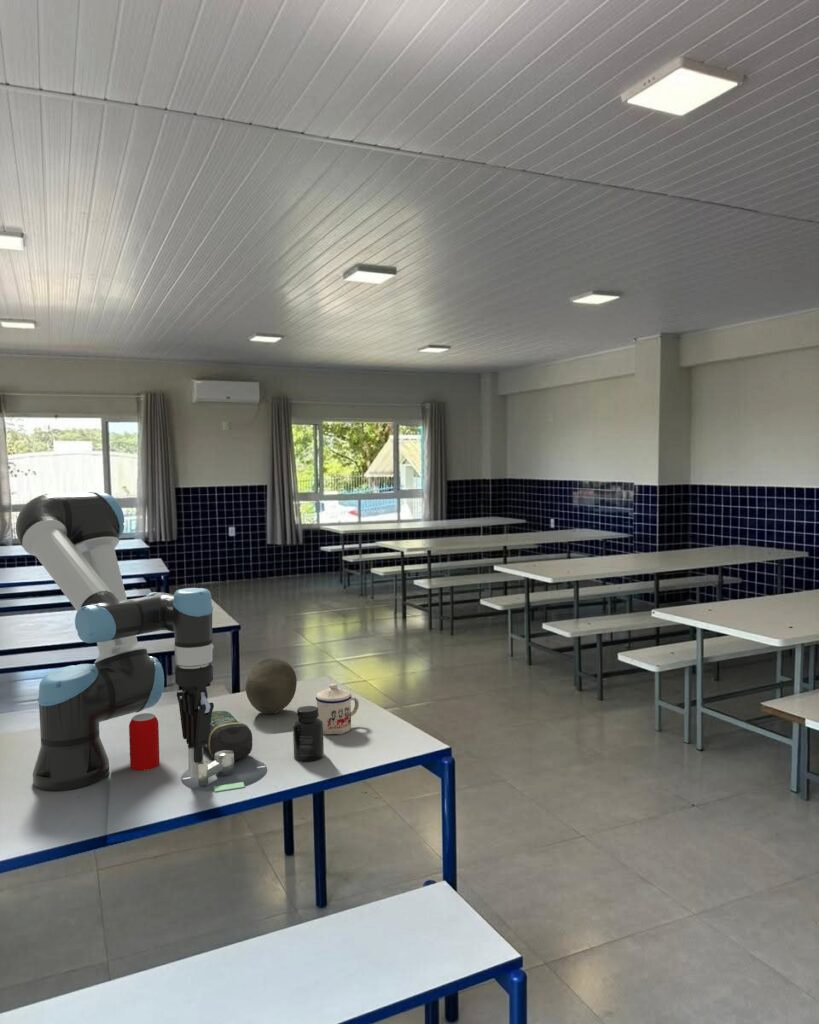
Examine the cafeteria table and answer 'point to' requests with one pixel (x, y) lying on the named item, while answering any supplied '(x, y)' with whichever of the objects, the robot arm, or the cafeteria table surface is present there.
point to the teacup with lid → (335, 709)
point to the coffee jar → (229, 735)
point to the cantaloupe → (271, 685)
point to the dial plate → (230, 776)
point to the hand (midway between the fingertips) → (196, 775)
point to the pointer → (216, 766)
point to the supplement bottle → (308, 735)
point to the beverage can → (144, 742)
